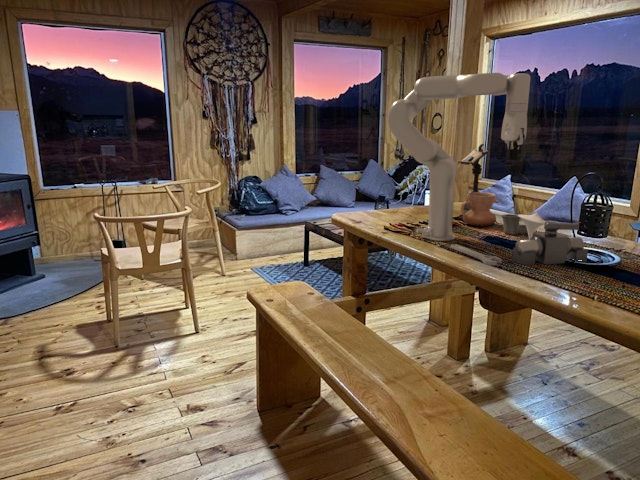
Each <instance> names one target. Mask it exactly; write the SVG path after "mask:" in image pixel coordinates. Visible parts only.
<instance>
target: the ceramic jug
mask: <svg viewBox="0 0 640 480" xmlns="http://www.w3.org/2000/svg"><path fill="white" fill-rule="evenodd" d="M496 196H497V195H496V194H495V193H492V192H480V191H479V192H476V193H471V192H469V193H466V198H467V199H466V200H465V201H462V202H461V204H460V212H461V215H462V220H463V221H464V223H466V224H468V225H470V226H474V227H489V226H491V225H494V224H495V223H496V221H497V217H496V215H495V214H494V213H493V212H492V211H491V209H492V206H493V205H494V204H495V203H496V204H498V203H500V201H499V200H498V199H496ZM467 200H468V201H467ZM465 204H468V205H469V206H470V209H471V210H470V211H468V212H467V213H465V212H464V206H465Z"/></svg>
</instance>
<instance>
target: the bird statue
mask: <svg viewBox="0 0 640 480" xmlns="http://www.w3.org/2000/svg"><path fill="white" fill-rule="evenodd" d="M484 145H485V144H484V143H480V144H479V146H478V148H477V149H473V150H472V151H471V152H470V153H469V154H468V155H467V156H466V157H464V158H463V159H462V160H457V163H456V165H457V166H458V165H459V164H461V165H468V166H469V165H470V164H471V167H472V168H471V170H472V172H471V174H472V175H473V182H472V184H473V186H472V187H473V188H472V190H471V191H470V193H476V192H480V191H479V188H478V187H479V184H480V182H479V180H480V179H479V176H480V175H481V174H482V170H483V168H482V165H481V163H480V160H481V159H482V158H483V157H484V156H485V155H487V154H488V153H489V150H486V149H485V150H484V148H483V147H484ZM466 201H468V200H467V199H466ZM470 210H471V209H470V206H469V205H468V204H465V206H464V212H465V213H467V212H468V211H470Z"/></svg>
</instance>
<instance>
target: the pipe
mask: <svg viewBox="0 0 640 480" xmlns="http://www.w3.org/2000/svg"><path fill="white" fill-rule="evenodd" d="M518 215H519V214H510V213H509V214H508V213H507V214H505V213H504V214H501V219H502V222H503V223H502V224H503V233H504V234H506V235H528V231H527V228H526V225H525V224H520V221H521V218H520V217H519V216H518Z"/></svg>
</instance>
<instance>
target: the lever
mask: <svg viewBox="0 0 640 480" xmlns="http://www.w3.org/2000/svg"><path fill="white" fill-rule="evenodd" d="M579 223H580V222H577V223H576V222H574V223H573V222H569V223H568V222H555V221H545V224H544V225H543V226H544V230H545V229H546V230H553V231H555V230H557V231H559V230H561V231H563V230H565V231H566V230H567V231H571V230H572V231H579Z"/></svg>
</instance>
